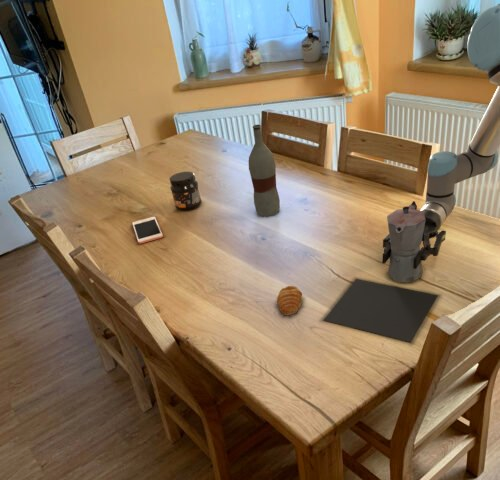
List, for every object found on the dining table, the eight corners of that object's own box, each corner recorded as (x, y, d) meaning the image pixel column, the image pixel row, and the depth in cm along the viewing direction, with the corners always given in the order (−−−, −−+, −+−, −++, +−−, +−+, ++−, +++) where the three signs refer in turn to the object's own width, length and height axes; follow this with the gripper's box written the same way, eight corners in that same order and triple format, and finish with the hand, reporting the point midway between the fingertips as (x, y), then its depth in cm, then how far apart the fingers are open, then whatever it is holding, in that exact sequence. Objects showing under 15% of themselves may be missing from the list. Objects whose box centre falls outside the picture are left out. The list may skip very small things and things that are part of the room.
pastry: (303, 315, 127) (301, 303, 124) (276, 318, 128) (275, 306, 125) (302, 295, 134) (301, 283, 132) (277, 297, 135) (276, 285, 133)
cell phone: (155, 218, 188) (154, 216, 188) (163, 237, 174) (162, 235, 174) (132, 224, 187) (131, 222, 186) (138, 244, 173) (138, 241, 172)
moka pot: (379, 286, 132) (380, 217, 119) (393, 257, 142) (395, 190, 130) (416, 291, 128) (421, 219, 115) (427, 260, 138) (433, 192, 126)
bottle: (284, 213, 175) (274, 126, 157) (259, 220, 174) (246, 132, 156) (276, 204, 182) (266, 119, 164) (252, 210, 181) (239, 125, 163)
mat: (437, 295, 125) (437, 295, 125) (410, 342, 113) (410, 342, 113) (356, 279, 136) (356, 278, 136) (323, 320, 124) (323, 319, 124)
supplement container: (170, 208, 194) (162, 178, 186) (191, 198, 199) (184, 168, 191) (186, 214, 187) (178, 183, 180) (207, 203, 192) (201, 173, 185)
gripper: (463, 238, 139) (438, 281, 125) (392, 229, 149) (362, 267, 135) (466, 214, 134) (440, 255, 120) (393, 205, 144) (361, 242, 131)
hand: (399, 261), depth 128 cm, fingers closed on moka pot, 7 cm apart
